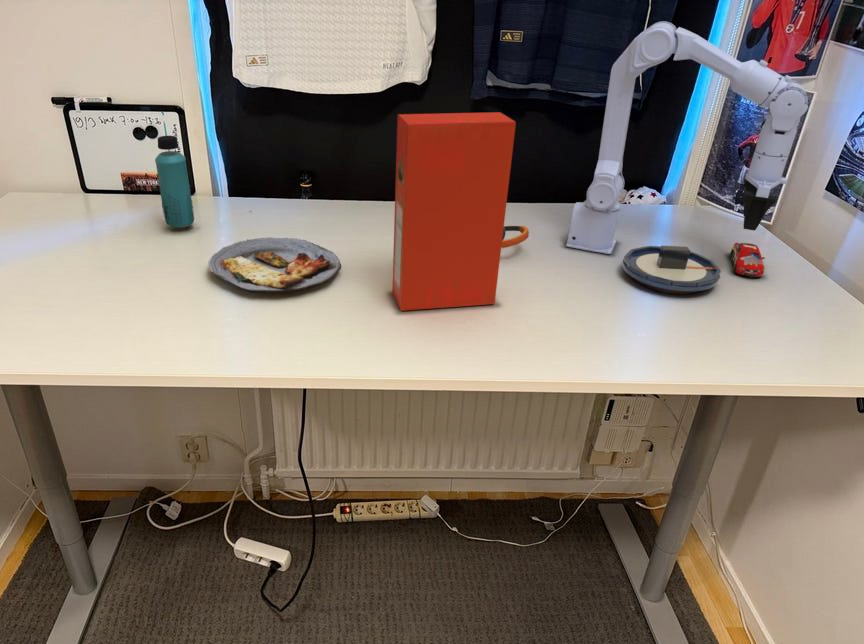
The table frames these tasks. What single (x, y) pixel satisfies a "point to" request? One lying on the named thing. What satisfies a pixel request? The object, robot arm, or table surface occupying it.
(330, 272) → the food plate
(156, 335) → the table surface
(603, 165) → the robot arm
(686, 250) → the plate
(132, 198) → the table surface
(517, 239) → the headphones
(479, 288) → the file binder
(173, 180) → the beverage bottle
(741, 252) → the race car
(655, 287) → the turntable base
